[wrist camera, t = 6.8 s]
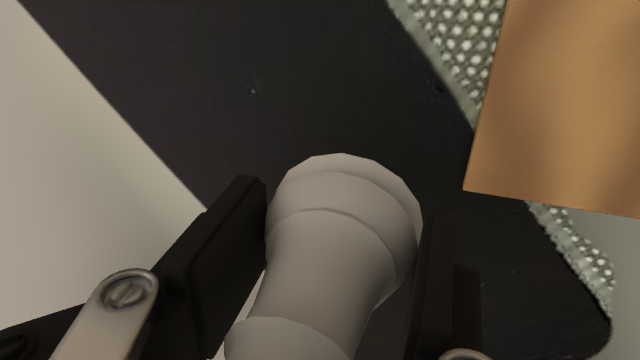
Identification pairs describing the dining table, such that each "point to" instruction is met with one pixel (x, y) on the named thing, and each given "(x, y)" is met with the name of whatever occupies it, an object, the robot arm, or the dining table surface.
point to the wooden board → (563, 107)
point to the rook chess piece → (328, 260)
